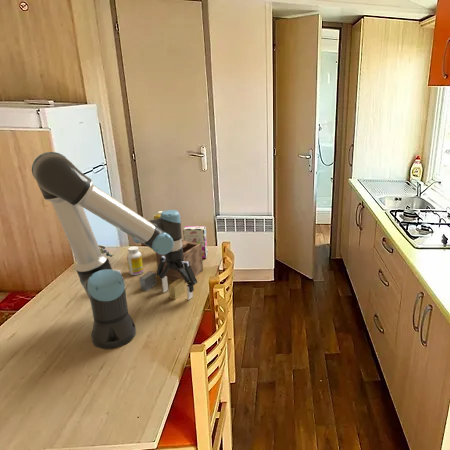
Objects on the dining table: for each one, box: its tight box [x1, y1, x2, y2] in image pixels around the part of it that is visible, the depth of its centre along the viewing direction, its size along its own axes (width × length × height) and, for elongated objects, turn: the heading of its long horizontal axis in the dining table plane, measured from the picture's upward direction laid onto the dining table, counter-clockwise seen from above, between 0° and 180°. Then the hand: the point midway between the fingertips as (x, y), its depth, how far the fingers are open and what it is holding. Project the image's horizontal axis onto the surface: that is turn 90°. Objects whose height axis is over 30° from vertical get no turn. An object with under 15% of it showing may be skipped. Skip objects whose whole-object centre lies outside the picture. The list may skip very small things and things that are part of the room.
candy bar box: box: [182, 225, 209, 259], centre depth 190 cm, size 11×5×16 cm, turn 81°
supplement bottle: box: [126, 246, 144, 276], centre depth 176 cm, size 7×7×13 cm
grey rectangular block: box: [139, 270, 158, 292], centre depth 164 cm, size 7×3×6 cm, turn 149°
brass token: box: [168, 279, 186, 300], centre depth 156 cm, size 7×3×6 cm, turn 150°
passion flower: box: [98, 244, 113, 258], centre depth 188 cm, size 11×11×12 cm
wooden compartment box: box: [155, 239, 204, 284], centre depth 173 cm, size 14×16×14 cm
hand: (177, 294), depth 157 cm, fingers open, 12 cm apart
